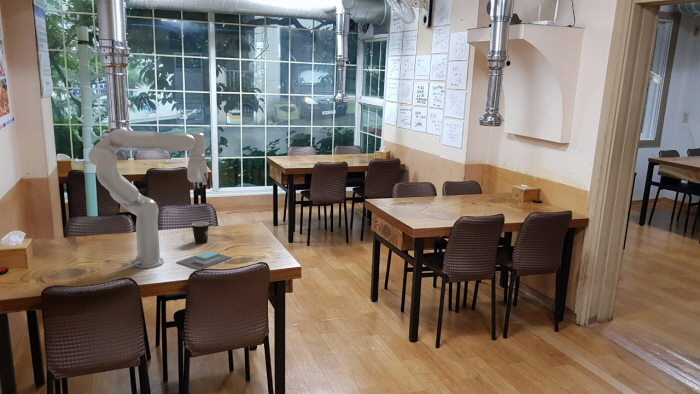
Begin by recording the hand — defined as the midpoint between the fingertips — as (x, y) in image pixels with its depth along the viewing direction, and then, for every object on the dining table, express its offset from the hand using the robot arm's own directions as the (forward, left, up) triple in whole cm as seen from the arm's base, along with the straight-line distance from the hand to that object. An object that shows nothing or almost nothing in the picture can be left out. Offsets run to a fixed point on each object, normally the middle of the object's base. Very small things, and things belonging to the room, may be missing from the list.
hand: (198, 195), depth 255 cm
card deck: (-8, -9, -27) cm, 30 cm away
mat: (-8, -11, -29) cm, 32 cm away
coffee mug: (+12, +12, -29) cm, 34 cm away
